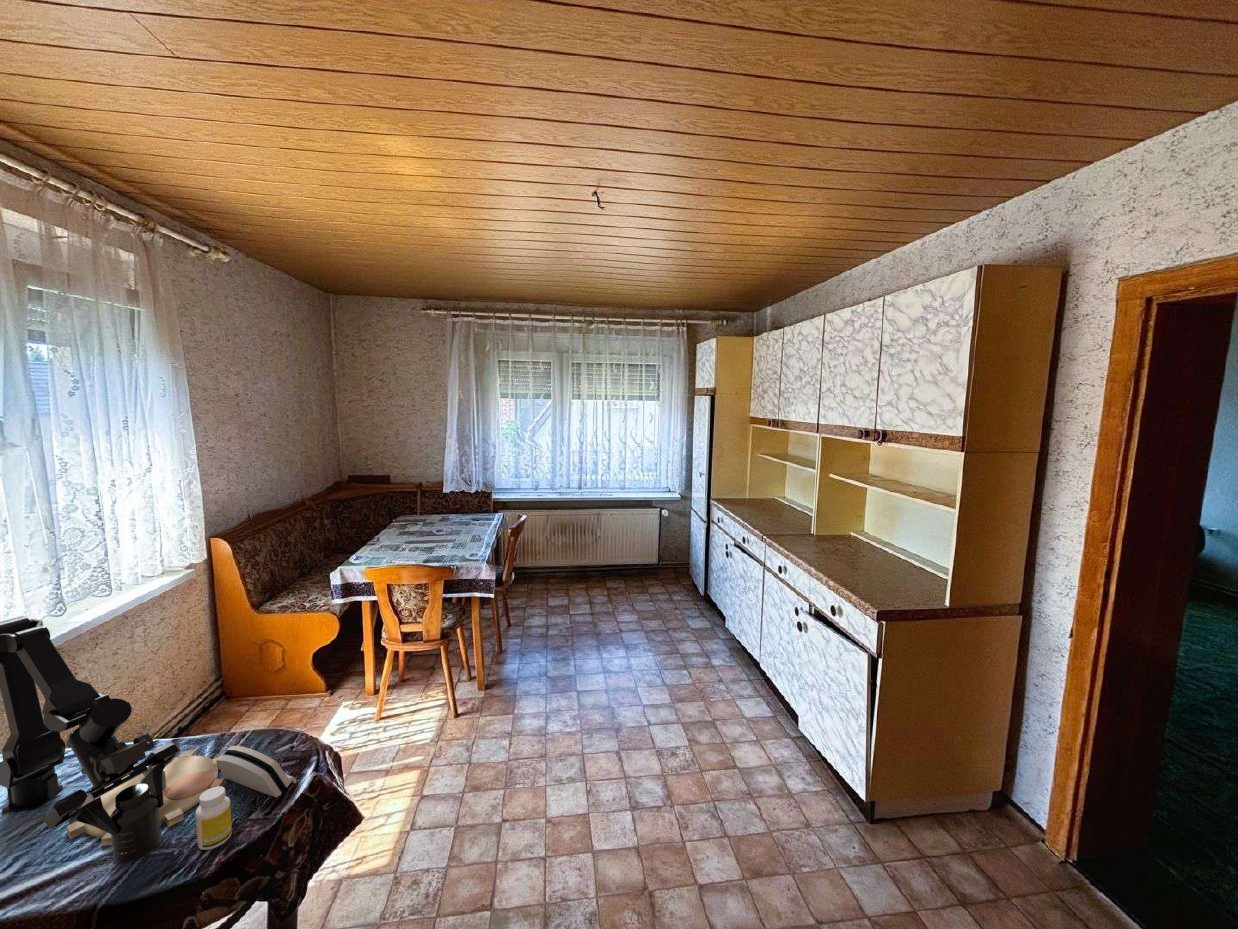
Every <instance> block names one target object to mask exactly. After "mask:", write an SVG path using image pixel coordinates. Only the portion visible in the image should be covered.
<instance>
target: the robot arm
mask: <svg viewBox="0 0 1238 929" xmlns="http://www.w3.org/2000/svg"><path fill="white" fill-rule="evenodd" d="M37 688H38V689H39V690H40V693H41V694H42V696H43V699H45V701H44V704H43V708H41V704H40V703H41V702H40V699H39V698H40V697H39V694H38V691H37V690H38V689H37ZM0 695H1V697H2V702H3V706H4V711H5V715H6V719H7V724H8V728H9V731H10V732H9V734H10V735H9V736H8V738H7V740H6V742H5V744H4V746H3V747H2V750H1V754H2V755H1V756H2V761H1V762H0V786H2V787H4V788H6V792H7V798H8V799H7V800H8V801H7V802H8V804H7V805H6V806H4V807H3V808H2V809H1V813H10V812H11V813H13V812H22V811H27V810H28V811H30V810H36V809H39V808H41V807H42V806H43V805H44V804H46V803H47V802H48V801H49V800H51V798H53V797H54V796H55V795H56V794H57V793H58V792H60V791H61V790H62V789H63V788H64V785H63V784H60V785H59V780H58V773H56V770H55V767H57V766H59V765H62V764H63V763H64V760H65V755H66V754H65V753H66V747H67V749H69V748H70V749H71V750H72V753H73V754H74V756H75V757H76V759H77V761H78V762H79V764H80V766H81V767H82V768H81V770H80V773H81V774H82V776H84V775H86V776H87V778H88V779H89V782H90V783H91V784H92V787H91V788H90V789H89V790H88V791H85V790H84V789H79V790H76V791H74V792H72V793H71V794H69V795H67V796H65V797H63V798H61V799H59V800H57V801H56V802H55V803H54V804H53V805H52V806H51V808H50V810H49V811H47V813H46V815H45V817H44V820H45V821H44V822H45V824H46V826H47V828H48V830H49V831H51V830H53V829H55V828H57V827H59V826H60V825H63V824H64V823H66V822H68V824H69V825H70V824H73V823H75V822H77V821H78V822H82V823H85V824H88V825H92V826H94V827H96V828H99V829H101V830H103V831H105V832H107V833H109V834H112V835H114V836H115V835H117V834H118V833H119V831H118V829H117V826H116V824H115V823H114V822H113V820H112V819H111V817H110V816H109V815H108V813H107V812H106V810H105V809H104V807H103V805H102V800H101V797H100V796H102V795H103V794H105V793H107V792H109V791H111V790H113V789H114V788H116V787H118V786H120V785H122V784H124V783H125V782H127V781H129V780H131V779H133V778H135V777H136V776H138V775H140V774H143V775H144V777H145V778H144V779H143V780H142V782H141V783H147V784H148V785H149V787H150V791H151V795H153V796H155V797H156V798H157V799H158V804H159V808H161V807H162V806H163V805H164V802H163V789H162V774H163V770H164V768H165V767H166V766H167V765H168V764H170V763H171V762H172V761H173V760H174V758H176V757H178V756H179V754H180V752H182V750H181V748H180V746H178V743H173V742H167V744H165V745H163V746H161V747H159V748H157V749H155V750H154V751H152V752H151V753H149V755H147V754H146V752H148V751H150V750H152V749H154V748H155V743H154V742H155V741H154V740H153V738H152V736H151V735H150V734H149V733H148V732H146V733H144V734H141V735H139V736H137V737H135V738H133V744H130V745H127V744H126V743H125V742H124V741H123V740H122V741H120V740H119V739H118V737H117V736H116V734H117V733H119V731H120V730H121V728H122V727H124V725H125V723H126V722H127V721H128V720H129V718H130V716H131V715H132V711H133V710H132V709H133V708H132V705H131V704H130V702H129V701H126V700H125V699H122V698H111V697H110V695H109V694H102V693H101V692H98V690H97V689H96V688H94V686H93V685H92V684H91V683H88V682H85V681H82V680H79V679H77V677H75V675H74V674H73V672H72V670H71V668H70V667H69V666H68V664H67V663H66V661H65V660H64V658H63V656H62V655H61V654H60V652H59V651H58V650H57V647H56V646H55V645H54V643H53V642H52V640H51V632H50V630H49V628H47V626H44V622H43V620H42V619H37V618H36V619H35V618H30V619H29V618H28V616H26V615H21V616H17V617H14V618H9V619H6V620H3V621H0ZM73 728H76V729H75V730H73V731H71V732H69V734H68V735H69V736H68V739H67V741H65V740H64V739H63V738H62V737H61V733H62V732H65V731H68V730H70V729H73ZM143 760H144V761H143ZM141 761H142V762H141ZM139 762H140V763H141V764H140V763H139ZM138 764H139V765H138ZM135 765H137V766H135ZM134 766H135V767H134ZM128 775H129V776H128ZM125 776H127V777H125ZM124 777H125V778H124ZM122 778H123V779H122ZM111 784H112V785H111ZM109 785H110V786H109ZM107 786H109V787H107ZM105 787H107V788H105ZM98 797H99V798H98ZM96 798H97V799H96Z"/></svg>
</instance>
